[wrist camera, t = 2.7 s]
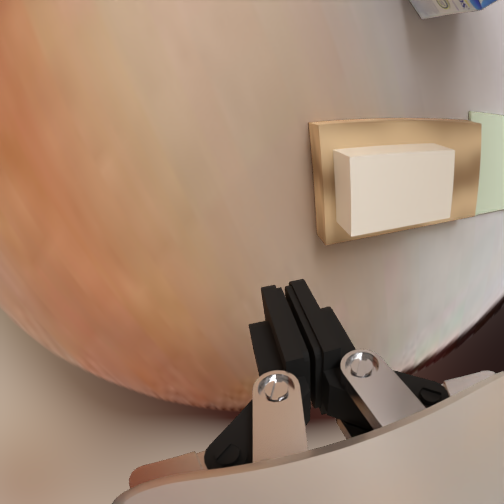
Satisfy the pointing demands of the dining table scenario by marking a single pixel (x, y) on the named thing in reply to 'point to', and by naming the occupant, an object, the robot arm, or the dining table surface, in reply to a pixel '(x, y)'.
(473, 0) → the medicine box
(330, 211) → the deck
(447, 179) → the cream rectangular block
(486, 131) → the mat
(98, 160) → the dining table surface
